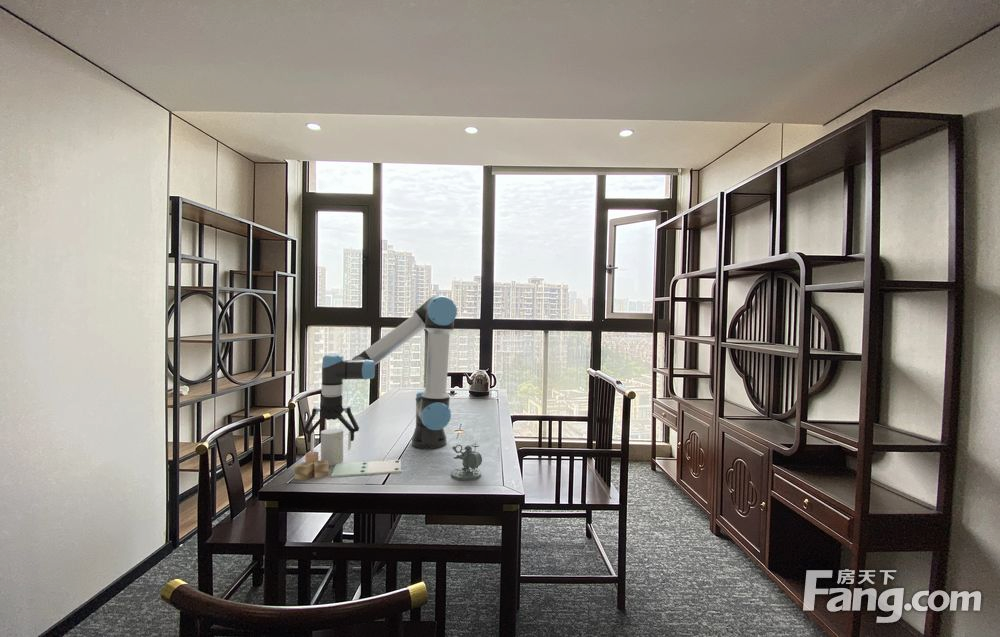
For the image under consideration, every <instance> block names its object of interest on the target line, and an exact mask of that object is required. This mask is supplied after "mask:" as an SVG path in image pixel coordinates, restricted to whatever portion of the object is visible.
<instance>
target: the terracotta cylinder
mask: <svg viewBox="0 0 1000 637" xmlns="http://www.w3.org/2000/svg"><path fill="white" fill-rule="evenodd" d="M304 455H305V458H304V460H305V461H304V462H310V463H314V461H319V452H318V451H313V452H311V451H308V452H306V453H305V454H304Z"/></svg>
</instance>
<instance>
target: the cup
mask: <svg viewBox="0 0 1000 637" xmlns="http://www.w3.org/2000/svg"><path fill="white" fill-rule="evenodd" d="M321 460H328V467H334V466H335V465H336V464H340V463H344V429H342V428H337V427H336V428H334V427H333V428H326V429H323V430H321V431H320V461H321Z"/></svg>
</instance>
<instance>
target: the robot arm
mask: <svg viewBox="0 0 1000 637" xmlns="http://www.w3.org/2000/svg"><path fill="white" fill-rule="evenodd" d="M457 314H458V308H457V305H456V302H454V301H453V300H452V299H451V298H450V297H448V296H445V295H435V296H431V297H430V298H428V299H427V300H426V301H425V302H424V303H423V304H422V305H421V306H419V307H418V308H417V309H416V310H414V311H413V314H412V315H411V316H410V317H409V318H407V319H405V320H404V321H402V322H401V323H400V324H399V325H397V326H396V327H395V328H394V329H392V330H390V331H389V332H388V333H387V334H385V335H384V336H383V337H381V338H379V339H378V340H377V341H376V342H374V343H373V344H371V346H369V347H367V348H366V349H365V350H364V351H362V352H361V353H359V354H358V355H355V356H354V357H353V358H351V359H344V355H342V354H326V355H325V354H324V356H323V357H322V366H321V395H322V396H321V406H320V408H318V407H313V408H312V410H311V415H310V417H309V419H308V420H307V422H306V425H305V426H304V427H303V430H302V433H304V434H306V435H307V442H308V443H309V444H310V452H314V450H315V432H314V431H315V430H316V428H317V427H319V425H320V424H321V423H322V422H323V421H324V420H327V421H330V420H333V421H334V420H338V421H340V422H341V423H342V425H343V426H344V427H345V428H346V429H347V430H348V431H349V432H348V435H347V438H348V440H347V441H348V442H347V446H348V447H347V448H348V449H347V451H351V450H352V442H353V441H354V440H355V433H356V432H359V430H360V426H359V425H358V423H357V421H356V418H355V416H354V414H353V413H352V407H351V406H348V407H344V406H343V395H342V394H343V390H344V389H343V386H344V385H343V384H344V382H343V381H344V380H370V379H371V380H372V379H374V378H375V375H376V365H377V364H378V363H380V362H381V361H383V360H384V359H385V358H386V357H388V356H389V355H391V354H392V353H393V352H395V351H396V350H397V349H399V348H400V347H402V346H403V345H405V343H407V342H408V341H410V340H411V339H412V338H414V337H415V336H417V335H418V334H420V333H421V332H422V331H423V330H426V331H427V332H428V335H427V336H428V337H427V355H426V356H427V357H426V370H425V389H424V390H425V391H419V392H417V393H416V394H415V395H416V396H415V429H414V432H413V435H412V437H411V446H413V447H414V448H418V449H425V450H426V449H429V450H430V449H436V448H437V449H438V448H441V447H444V446H445V445H447V435H446V433H445V428H446V427H447V426H448V424H449V423H450V421H451V420H452V419H451V418H452V411H451V409H450V401H451V399H450V394H449V392H447V384H448V370H449V366H448V365H449V350H450V348H449V347H450V336H451V335H450V334H451V333H452V332H453V331H454V330H455V329H454V328H455V327H454V326H455V320H456V318H457ZM319 412H320V414H321V415H322V416H320V418H319V419H318V420H317V421H316V422H315V423H314V424H313V426H312V427H310V426H311V424H312V422H313V420H314V419H315V416H316V415H318V413H319ZM343 412H344V414H347V416H348V418H349V420H350V423H351V424H350V423H349V421H348V420H347V419H346V418H345V417H344V416H343ZM309 428H310V429H309Z"/></svg>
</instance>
